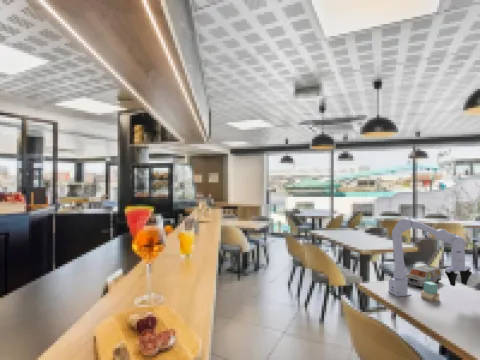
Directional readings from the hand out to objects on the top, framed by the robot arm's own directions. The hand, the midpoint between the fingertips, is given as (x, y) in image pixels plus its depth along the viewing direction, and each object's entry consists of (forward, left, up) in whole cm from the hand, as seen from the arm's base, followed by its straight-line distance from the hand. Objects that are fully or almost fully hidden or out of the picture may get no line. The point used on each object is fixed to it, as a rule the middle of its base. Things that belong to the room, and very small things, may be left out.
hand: (458, 284), depth 151 cm
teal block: (-8, +10, -7) cm, 14 cm away
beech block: (-8, +10, -11) cm, 17 cm away
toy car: (+9, +31, -11) cm, 34 cm away
